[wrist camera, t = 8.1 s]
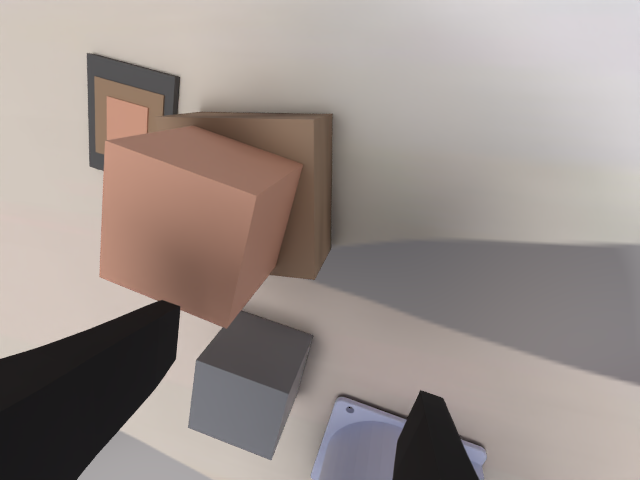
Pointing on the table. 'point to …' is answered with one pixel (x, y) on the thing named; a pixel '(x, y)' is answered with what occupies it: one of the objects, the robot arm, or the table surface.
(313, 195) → the walnut block
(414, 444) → the robot arm
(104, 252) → the terracotta cube
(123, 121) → the card
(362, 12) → the table surface
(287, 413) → the charcoal cube
